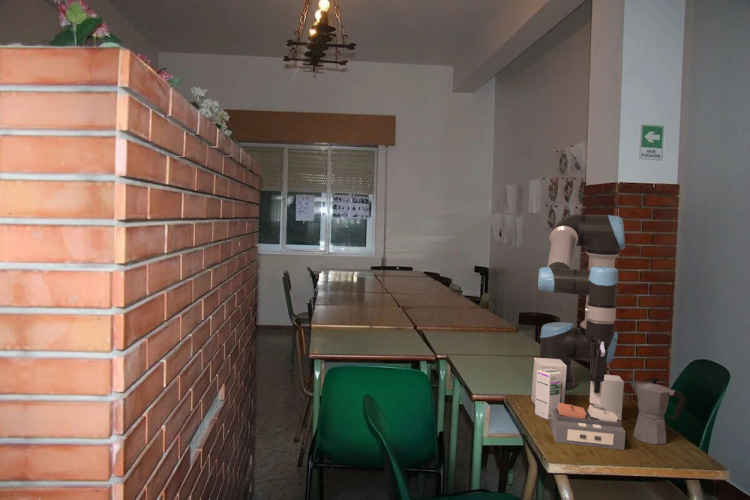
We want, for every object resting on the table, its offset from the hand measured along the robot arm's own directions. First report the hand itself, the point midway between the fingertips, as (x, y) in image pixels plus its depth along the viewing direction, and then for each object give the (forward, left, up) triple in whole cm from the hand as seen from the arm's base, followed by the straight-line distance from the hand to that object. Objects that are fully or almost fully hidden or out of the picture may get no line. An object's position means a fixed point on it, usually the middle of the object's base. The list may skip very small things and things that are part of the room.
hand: (594, 402), depth 165 cm
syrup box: (-15, -11, -10) cm, 21 cm away
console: (0, -2, -10) cm, 10 cm away
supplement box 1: (-26, -10, -10) cm, 30 cm away
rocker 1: (0, -6, -3) cm, 7 cm away
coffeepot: (-4, +17, -10) cm, 20 cm away
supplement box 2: (-21, +8, -10) cm, 25 cm away
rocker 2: (0, +2, -3) cm, 4 cm away
